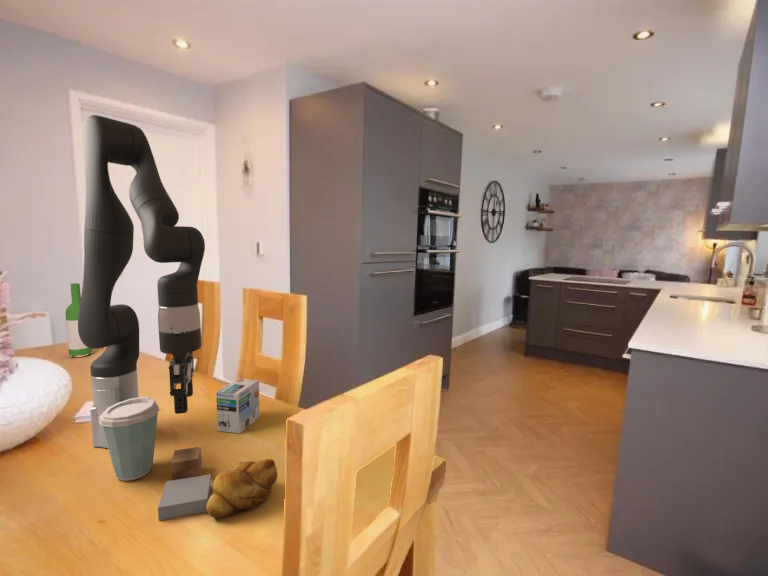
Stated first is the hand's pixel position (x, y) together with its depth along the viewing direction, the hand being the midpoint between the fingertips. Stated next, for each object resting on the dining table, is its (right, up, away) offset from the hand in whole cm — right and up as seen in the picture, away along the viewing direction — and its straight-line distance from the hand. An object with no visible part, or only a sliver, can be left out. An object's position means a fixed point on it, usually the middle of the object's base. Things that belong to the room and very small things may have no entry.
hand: (184, 404), depth 82 cm
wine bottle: (-84, -4, +83) cm, 119 cm away
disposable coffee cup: (-12, -16, +3) cm, 20 cm away
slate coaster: (+4, -17, -6) cm, 18 cm away
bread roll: (+14, -17, -6) cm, 23 cm away
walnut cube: (0, -16, +2) cm, 16 cm away
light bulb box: (+2, -13, +26) cm, 29 cm away
